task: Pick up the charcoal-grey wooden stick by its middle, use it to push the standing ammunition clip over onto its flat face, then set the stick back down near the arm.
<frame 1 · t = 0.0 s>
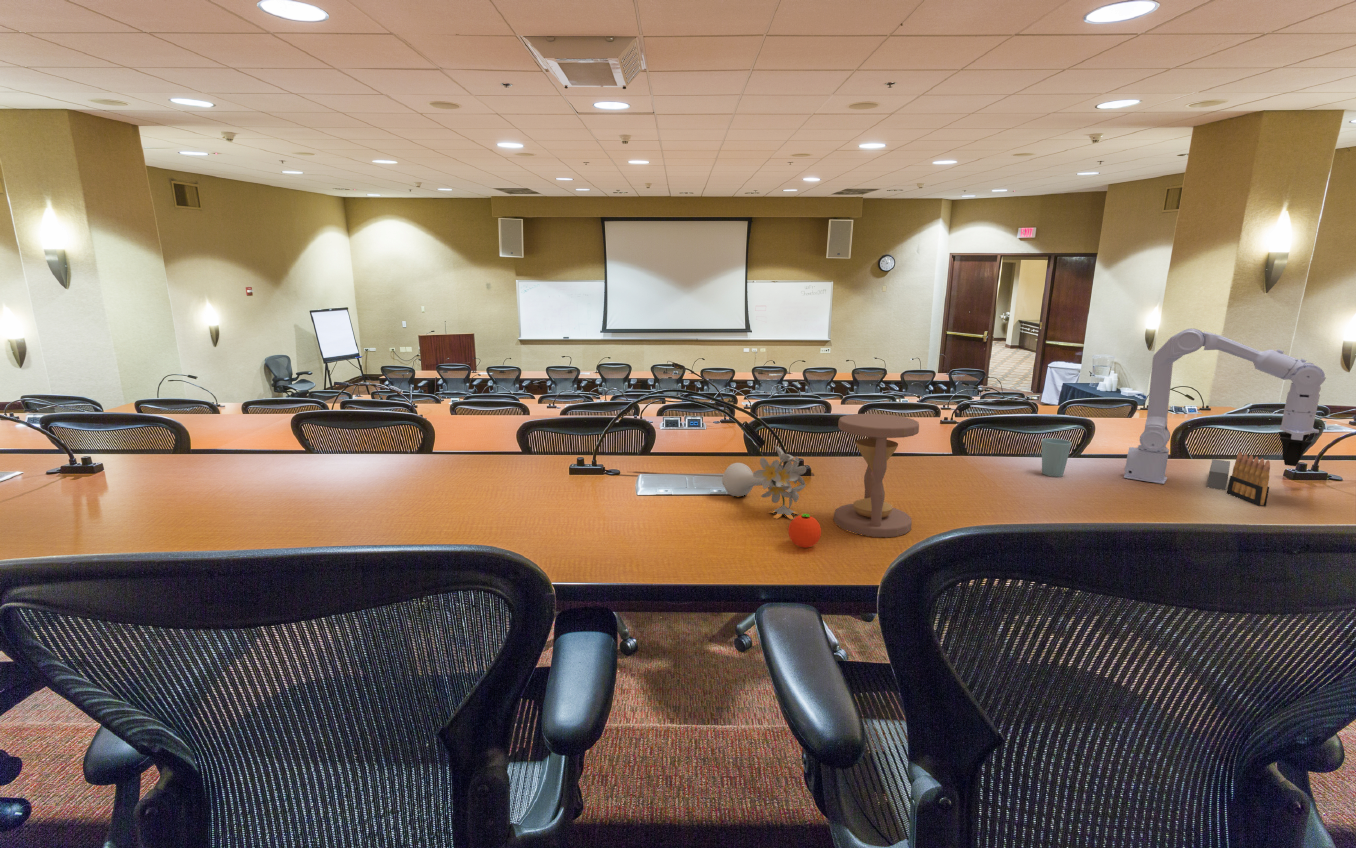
hand: (1289, 462, 156), 10 cm above the table, tool pointing down, fingers open, 7 cm apart
clementine: (804, 546, 130), on the table
flower vase: (760, 506, 155), on the table
ammunition clip: (1245, 500, 158), on the table
hourglass: (871, 524, 142), on the table
cup: (1052, 475, 182), on the table
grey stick: (1217, 482, 174), on the table
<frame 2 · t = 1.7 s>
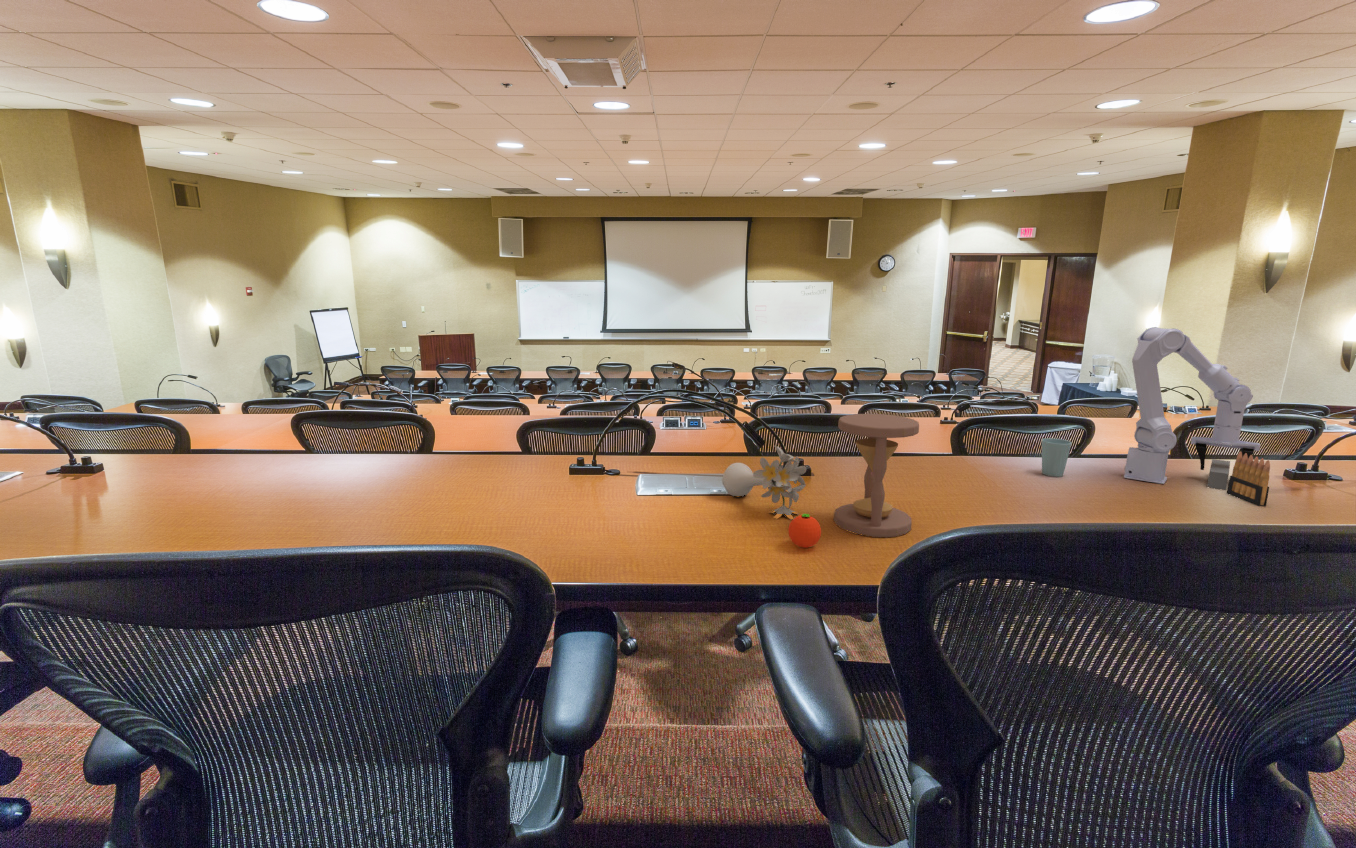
hand: (1219, 471, 173), 3 cm above the table, tool pointing down, fingers open, 7 cm apart
nothing on the table moved.
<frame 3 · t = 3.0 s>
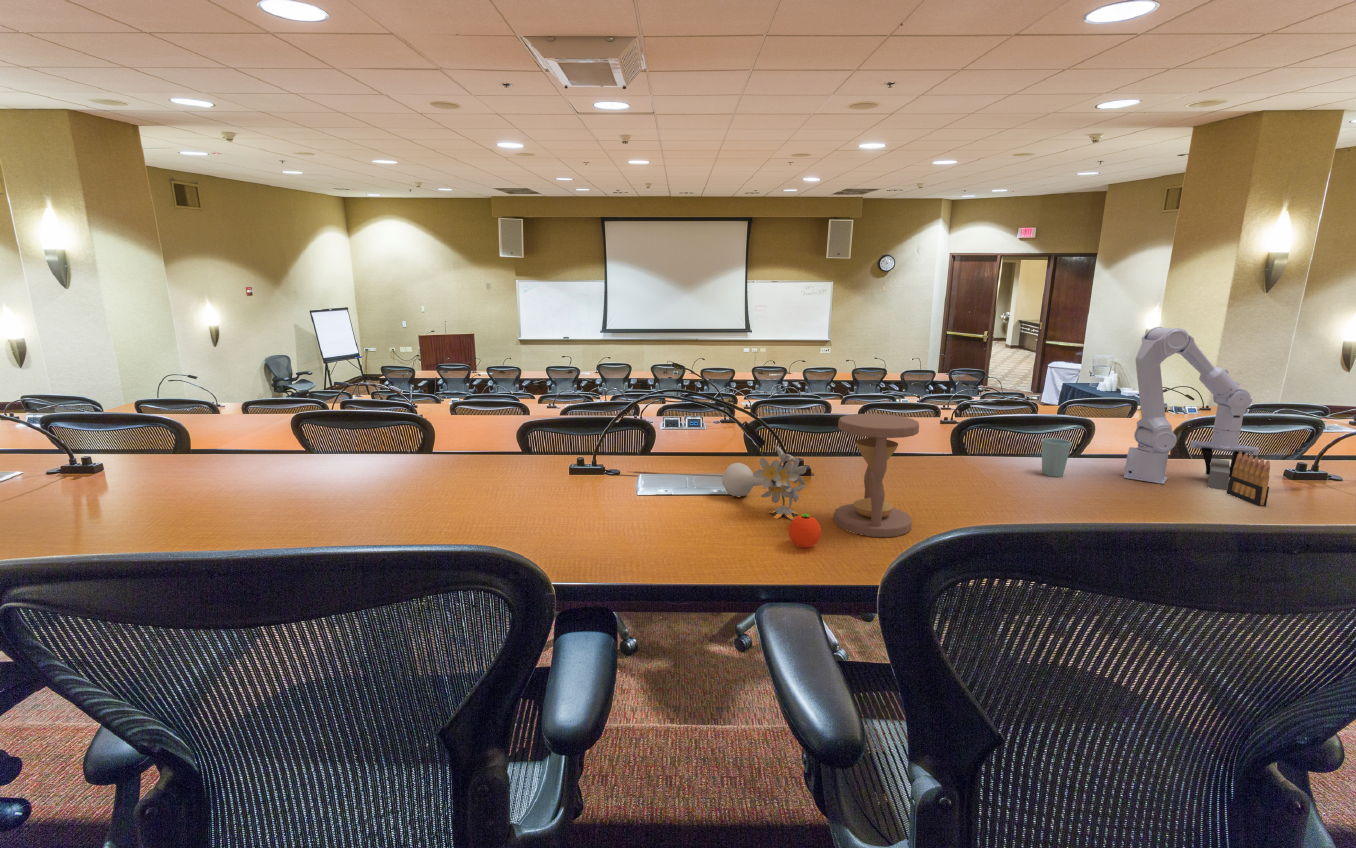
hand: (1218, 475, 173), 2 cm above the table, tool pointing down, fingers closed on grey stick, 4 cm apart
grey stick: (1217, 482, 174), on the table, touching gripper
everything else where it was.
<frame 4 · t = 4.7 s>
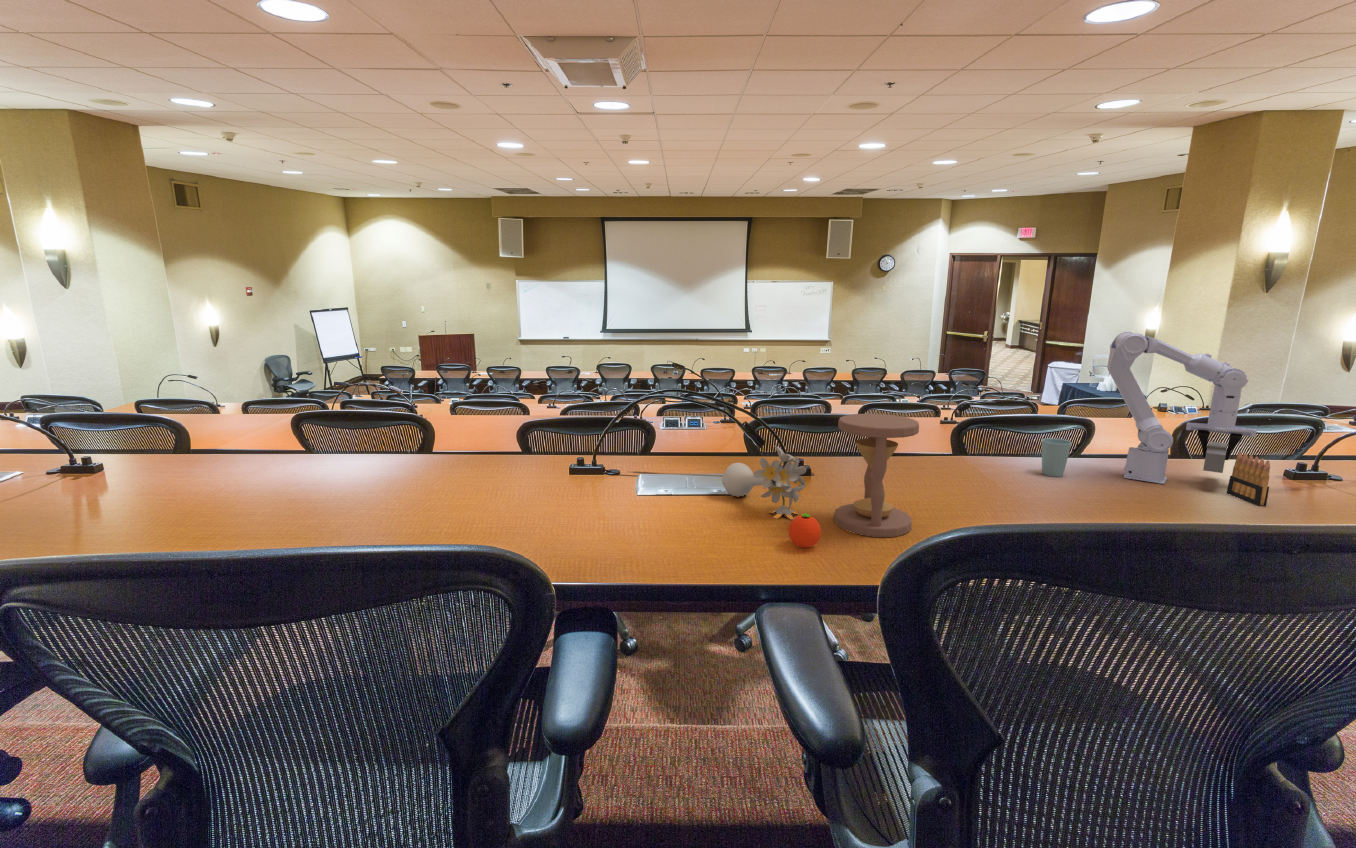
hand: (1215, 458, 169), 8 cm above the table, tool pointing down, fingers closed on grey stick, 4 cm apart
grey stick: (1213, 465, 170), point 6 cm above the table, touching gripper
everything else where it was.
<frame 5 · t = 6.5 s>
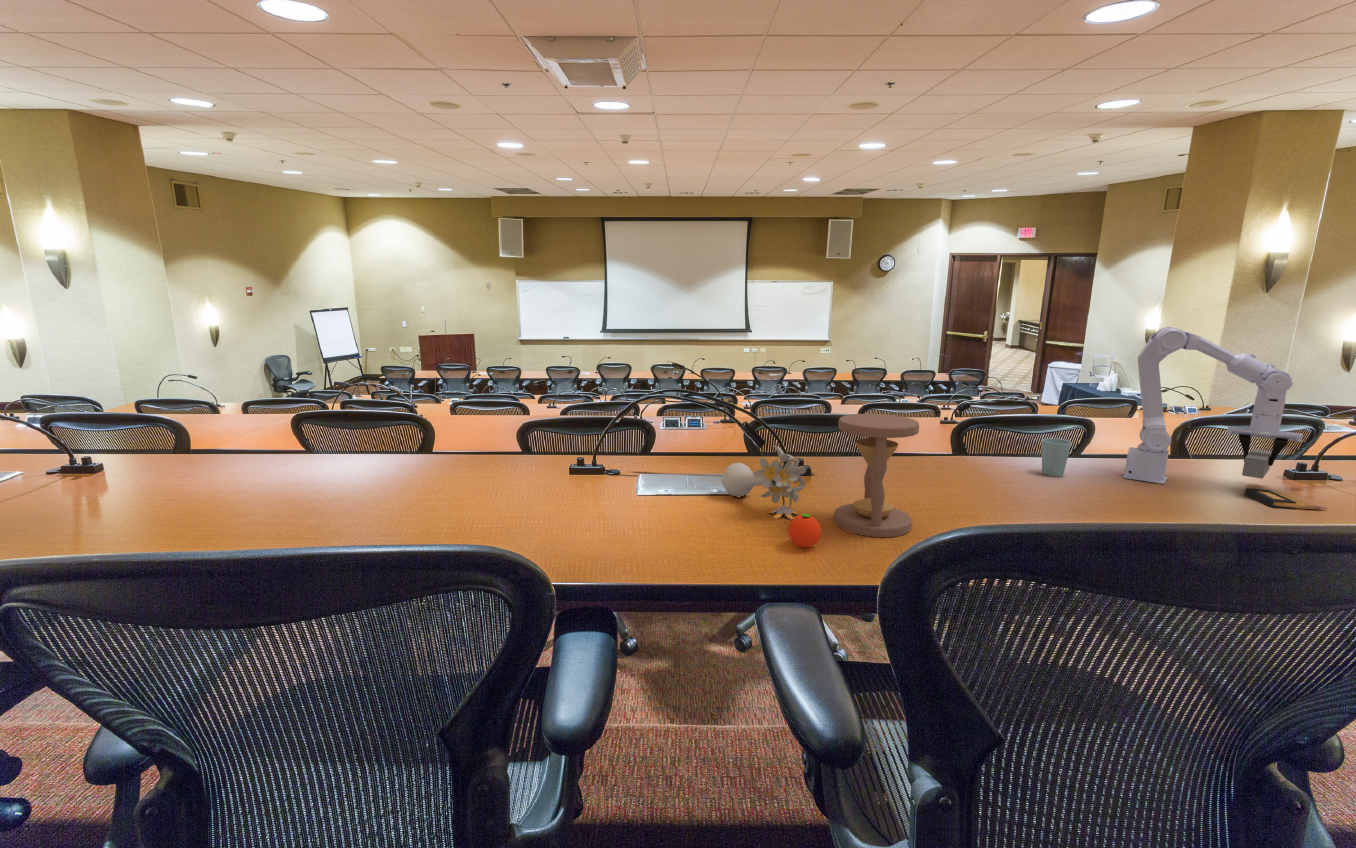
hand: (1257, 463, 163), 8 cm above the table, tool pointing down, fingers closed on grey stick, 4 cm apart
ammunition clip: (1257, 497, 157), point 1 cm above the table
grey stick: (1255, 472, 164), point 6 cm above the table, touching gripper
everything else where it was.
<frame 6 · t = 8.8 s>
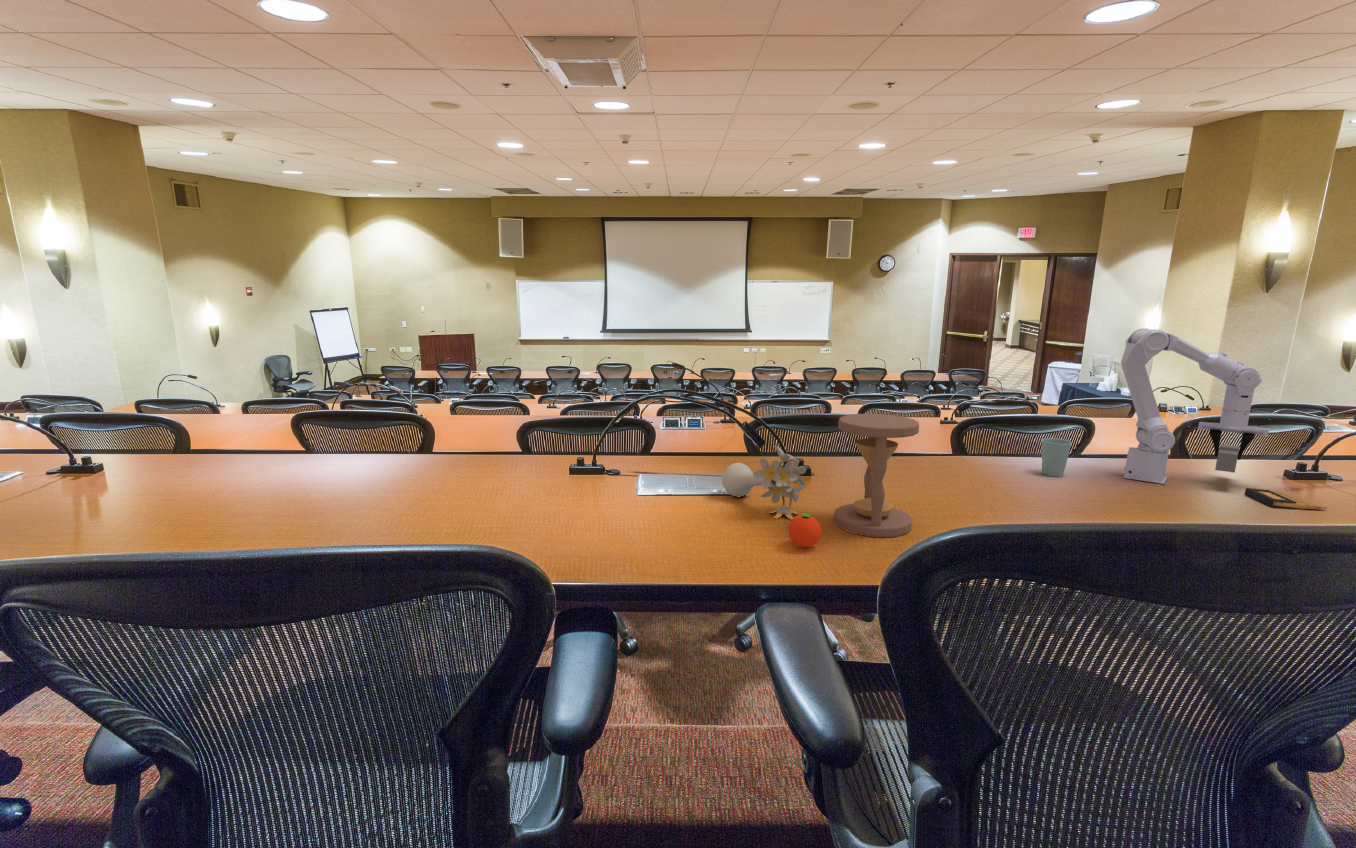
hand: (1227, 457, 170), 8 cm above the table, tool pointing down, fingers closed on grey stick, 4 cm apart
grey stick: (1225, 466, 170), point 5 cm above the table, touching gripper
everything else where it was.
when the fingers open (3 cm above the table, at t = 10.8 s): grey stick stays where it is, on the table.
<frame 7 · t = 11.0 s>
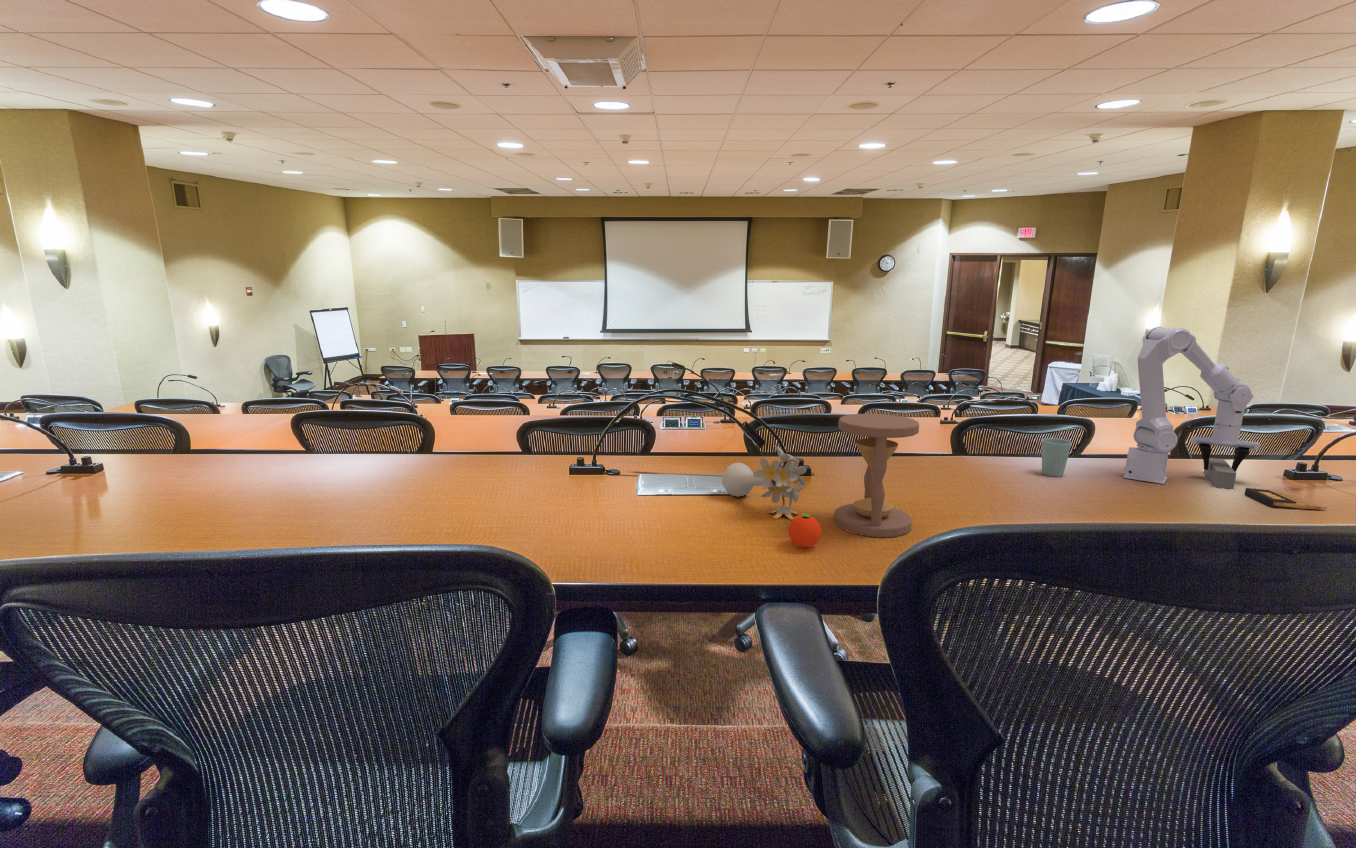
hand: (1219, 470, 175), 3 cm above the table, tool pointing down, fingers open, 5 cm apart
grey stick: (1217, 481, 175), on the table
everything else where it was.
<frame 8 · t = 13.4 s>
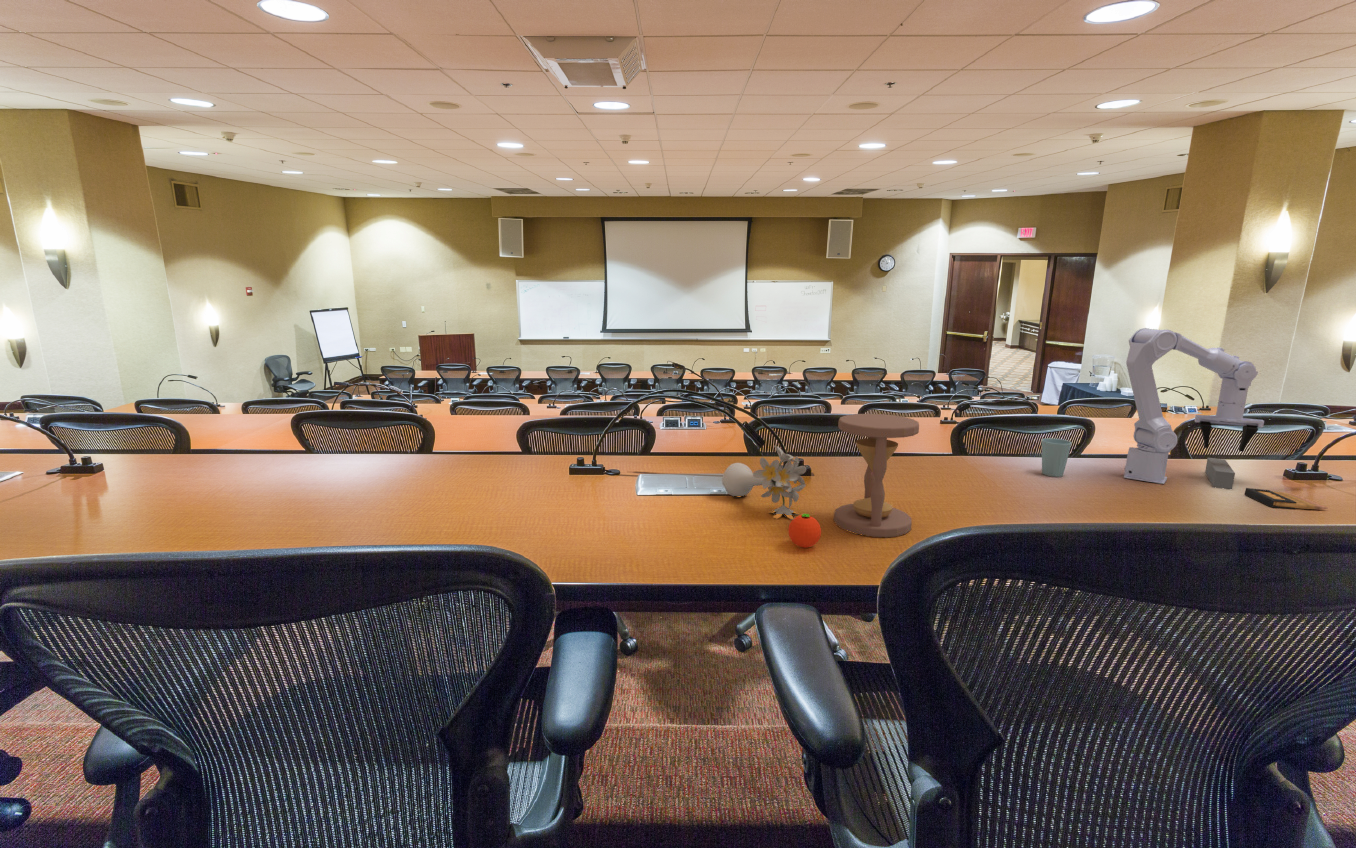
hand: (1223, 449, 173), 9 cm above the table, tool pointing down, fingers open, 7 cm apart
nothing on the table moved.
at the end: ammunition clip tilted 92°; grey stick inside the target area (0.1 cm from its centre), on the table; the gripper is holding nothing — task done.
